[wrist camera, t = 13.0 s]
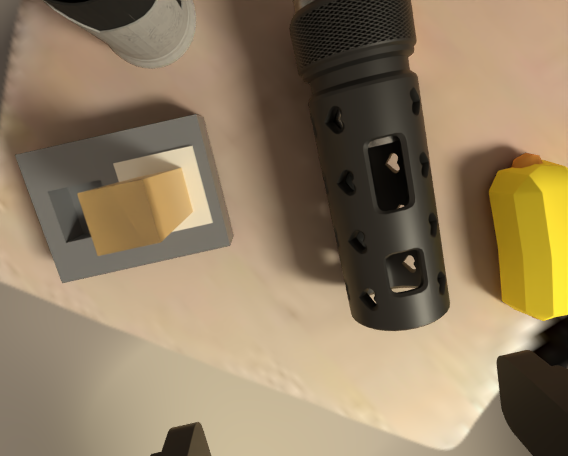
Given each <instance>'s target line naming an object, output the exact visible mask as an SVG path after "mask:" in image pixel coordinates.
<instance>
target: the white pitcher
mask: <svg viewBox="0 0 568 456" xmlns="http://www.w3.org/2000/svg"><path fill="white" fill-rule="evenodd" d="M43 1H44V2H45V3H46V4H47V5H48V6H50V7H51V8H52V9H53V10H54V11H56V12H58V13H59V14H61V15H62V16H64V17H65V18H67V19H69V20H70V21H72V22H73V23H75V24H77V25H78V26H80V27H81V28H83V29H85V30H86V31H88V32H90V33H91V34H93V35H94V36H96V37H98V38H99V39H101V40H102V41H104V42H106V43H107V44H108V45H109V46H110V47H111V48H112V50H113V51H114V52H115V53H116V54H117V55H118V56H120V57H121V58H122V59H124V60H125V61H127V62H128V63H130V64H133V65H135V66H138V67H142V68H161V67H164V66H167V65H170V64H171V63H173V62H175V61H177V60H178V59H179V58H180V57H181V56H183V54H184V53H185V52H186V51H187V49H188V48H189V46H190V44H191V42H192V40H193V37H194V34H195V28H196V12H195V6H194V3H193V0H43Z"/></svg>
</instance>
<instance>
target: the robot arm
mask: <svg viewBox="0 0 568 456" xmlns="http://www.w3.org/2000/svg"><path fill="white" fill-rule="evenodd" d="M497 372H498V381H499V390H500V400H501V408H502V412H503V415H504V417H505V420H506V422H507V424H508V425H509V427H510V429H511V430H512V432H513V433H514V434H515V435H516V436H517V438H518V439H519V440H520V441H521V442H522V444H523V445H524V446H525V447H526V448H527V449H528V451H529V452H530V453H531V454H532V455H533V456H568V369H566V368H564V367H561V366H559V365H556V366H550V365H549V364H547V363H546V362H545V361H544V360H542V359H541V358H540V357H539V356H537V355H536V354H535V353H533V352H532V351H530V350H524V351H520V352H515V353H511V354H506V355H502V356H499V357H498V358H497ZM150 456H211V453H210V450H209V447H208V444H207V441H206V437H205V434H204V431H203V428H202V425H201V424H200V423H199V422H196V423H192V424H187V425H183V426H178V427H173V428H171V429H170V430H169V431H168V434H167V437H166V440H165V443H164V446H163V449H162V452H158V453H154V454H151V455H150Z"/></svg>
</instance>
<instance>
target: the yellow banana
mask: <svg viewBox="0 0 568 456" xmlns="http://www.w3.org/2000/svg"><path fill="white" fill-rule="evenodd" d="M489 197H490V203H491V209H492V215H493V221H494V227H495V233H496V239H497V245H498V253H499V266H500V280H501V293H502V301H503V302H504V303H506V304H507V305H509V306H510V307H512V308H513V309H515V310H517V311H520V312H522V313H525V314H527V315H530V316H532V317H533V318H536V319H539V320H542V321H545V320H548V319H550V318H553V317H558V316H563V315H568V168H567V167H565V166H562V165H559V164H555V163H552V162H548V161H545V160H541V158H540V156H538V155H534V154H529V153H525V154H523V155H521V156H519V157H517V158H516V159H514V160H513V163H512V166H511V168H508V169H504V170H499V171H498V172H497V174H496V176H495V179H494V181H493V183H492V185H491V187H490V190H489Z"/></svg>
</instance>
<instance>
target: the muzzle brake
mask: <svg viewBox="0 0 568 456" xmlns="http://www.w3.org/2000/svg"><path fill="white" fill-rule="evenodd" d="M293 3H294V8H295V15H294V16H293V18H292V20H291V24H290V28H289V29H290V35H291V40H292V45H293V50H294V54H295V59H296V64H297V69H298V73H299V75H300V76H302V78H303V82H306V83H310V86H311V90H312V97H311V98H310V100H309V104H308V106H309V111H310V115H311V120H312V125H313V130H314V135H315V140H316V145H317V149H318V154H319V159H320V164H321V169H322V174H323V179H324V182H325V188H326V193H327V198H328V203H329V208H330V213H331V217H332V222H333V227H334V232H335V237H336V242H337V247H338V252H339V256H340V261H341V266H342V271H343V276H344V281H345V284H346V290H347V295H348V300H349V305H350V310H351V314H352V317H353V318H354V319H355V320H356V321H357V322H358V323H360V324H362V325H364V326H366V327H369V328H372V329H376V330H384V331H401V330H409V329H415V328H419V327H422V326H425V325H428V324H430V323H433V322H435V321H436V320H438V319H440V318H441V317H442V316H443V315H444V314H445V313H446V312H447V311H448V309H449V307H450V300H449V293H448V286H447V279H446V272H445V265H444V258H443V251H442V244H441V237H440V230H439V223H438V216H437V209H436V202H435V195H434V188H433V181H432V174H431V167H430V160H429V153H428V146H427V139H426V132H425V125H424V118H423V111H422V104H421V97H420V90H419V83H418V77H417V75H416V73H414V72H412V71H411V70H410V68H409V60H408V57H409V56H410V55H411V54H413V53H414V45H415V44H416V33H415V26H414V19H413V12H412V5H411V0H293ZM393 153H395V154H397V156H398V161H397V164H398V165H399V167H400V170H399V171H396V170H394V169H393V168H392V167H391V166H390V165H388V164H387V162H388V161H389V159H390V157H391V156H392V154H393ZM400 205H404V207H402V208H399V207H400ZM408 255H411V256H413V257H414V260H415V262H414V266H415V267H416V269H412V268H411V267H410V266H408V265H407V264H406V263H405V262H404V261H405V259H406V258H407V256H408ZM394 288H415V289H412V290H408V291H403V292H398V293H396V292H393V291H392V290H391V289H394ZM372 294H375V297H374V300H375V301H376V303H375V302H374V301H373V300H372V299H371V297H370V295H372Z"/></svg>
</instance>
